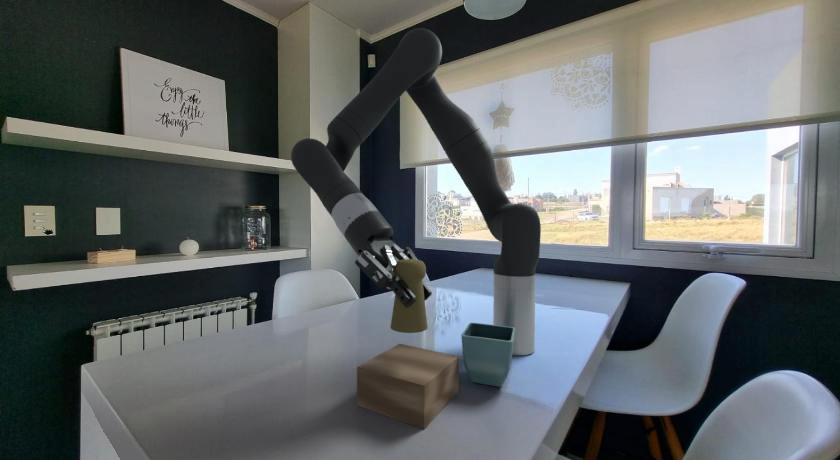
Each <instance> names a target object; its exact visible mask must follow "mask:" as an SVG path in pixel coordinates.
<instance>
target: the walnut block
mask: <svg viewBox="0 0 840 460" xmlns="http://www.w3.org/2000/svg"><path fill="white" fill-rule="evenodd" d="M459 382H460V356H459V355H454V354H449V353H445V352H440V351H436V350H432V349H431V350H430V349H427V348H422V347H416V346H413V345H407V344H403V343H398V344H397V345H394V346H393V347H390V348H389V349H387V350H385V351H383V352H382V353H379V354H378V355H376V356H374V357H373V358H370V359H369V360H368V361H365V362H363V363H362V364H360V365H358V366H357V367H356V406H357V407H361V408H362V409H366V410H369V411H371V412H375V413H376V414H380V415H383V416H386V417H389V418H392V419H394V420H397V421H400V422H402V423H405V424H408V425H411V426H414V427H416V428H420V429H423V430H426V429H427V427H428V426H429V424H431V423H432V422H433V421H434V419H435V418H436V417H437V416H438V415H439V414H440V413H441V412H442V411H443V410H444V409H445V408H446V406H448V404H449V403H450V402H451V401H452V400H453V399H454V398H455V397H456V395H457V394H458V393H459V391H460V390H459V389H460V384H459Z"/></svg>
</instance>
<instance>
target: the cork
mask: <svg viewBox="0 0 840 460" xmlns="http://www.w3.org/2000/svg"><path fill="white" fill-rule="evenodd" d="M416 259H417V258H416ZM416 259H403V260H399V261H398V262H397V264H396V271H397V273H398V275H399V276H400V277H401V280H400V281H404V282H405V283H406V285H407V286H408V287H409V289H410V290H411V291H412V293H413V294H414V295H415V296H416V301H415V302H414V303H413V304H412V305H411V306H410V307H405V306H404V305H403V304H402V303H401V301H400V300H399V299H398V297H397V296H396V295H395V294H394V300H393V308H392V314H391V320H390V330H393V332H398V333H401V334H402V333H403V334H405V333H406V334H415V333H417V334H418V333H421V332H425V331H426V330H428V318H427V309H426V300H425V299H424V290H423V282H424V278H425V277H426V274H427V267H426V264H425V262H424V261H422V260H420V259H417V260H416ZM422 280H423V281H422Z"/></svg>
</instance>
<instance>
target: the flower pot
mask: <svg viewBox="0 0 840 460" xmlns="http://www.w3.org/2000/svg"><path fill="white" fill-rule="evenodd" d="M514 336H515V328H514V327H507V326H498V325H493V324H488V323H487V324H486V323H479V322H470V323H468V325H467V326H466V328H465V329H464V330H463V332H462V333H461V347H462V349H461V350H462V357H463V363H464V364H463V365H464V367H465V370H466V373H467V375H468V377H469V378H470V380H471V381H472V382H473V383H474V384H481V385H487V386H493V387H497V388H501V387H502V386H503V385H504V383H505V381H506V379H507V378H508V374H509V372H510V369H511V368H510V367H511V363H512V357H513V355H512V352H513V345H514Z"/></svg>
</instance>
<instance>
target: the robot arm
mask: <svg viewBox="0 0 840 460" xmlns="http://www.w3.org/2000/svg"><path fill="white" fill-rule="evenodd" d="M442 56H443V48H442V44H441V41H440V39H439V37H438V36H437V35H436V33H434V32H433V31H432V30H429V29H427V28H425V27H424V28H423V27H416V28H414V29H411V30H409V31H407V32H406V33H405V34H404V36H403V37H402V38H401V40H400V41H399V44H397V47H396V48H395V49H394V51H393V53H391V56H390V57H389V58H388V59H387V61H386V62H385V63H384V65H383V66H382V67H381V68H380V70H379V71H378V72H377V73H376V74H375V75H374V77H373V78H372V79H370V81H369V82H368V83H367V84H366V85H365V86H364V87H363V89H361V91H360V92H359V93H358V94H357V95H356V96H355V97H353V98H352V99H351V100H350V101H349V103H348V104H347V105H346V106H344V108H342V110H340V112H338V114H337V115H336V116H335V117H334V118H333V119H331V121H330V122H329V123H328V125H327V127H326V133H327V138H328V139H327V143H326V145H325V144H324V143H323V142H322V141H321V140H318V139H315V138H308V137H307V138H304V139H303V138H302V139H301V140H299V141H297V142H296V143H295V144H294V145H293V146H292V150H291V152H290V154H291V155H290V158H291V159H290V160H291V163H292V166H293V168H294V170H296V171H297V173H298V174H299V175H300V176H301V177H302V179H303V180H304V181H305V182H306V184H307V185H308V186H309V187H310V188H311V190H313V192H314V193H315V194H316V196H317V197H318V199H319V200H320V203H321V204H322V206H323V207H324V208H325V209H326V211H327V213H328V214H329V215H330V216H331V218H332V220H333V222H334V223H335V225H336V227H337V228H338V230H339V232H340V233H341V234H342V235H343V237H344V238H345V240H346V241H347V243H348V244H349V246H351V248H352V250H353V251H354V252H355V253H356V255H357V256H358V257H357V259H355V261H354V263H355V265H356V266H357V268H358V269H360V270H361V271H362V272H363V273H364V274H365V275H366V276H367V277H368V278H369V279H370V280H371V281H372V282H373V283H374V284H375V286H377V287H378V288H379V289H384V287H385V288H386V289H388V290H389V291H392V292H393V293H394V296H395V295H396V296H397V297H398V299H399V300H400V301H401V303H402V304H403V305H404V306H405V307H410V306H411V305H412V304H413V303H414V302H415V301H416V296H415V295H414V294H413V293H412V291H411V290H410V289H409V287H408V286H407V285H406V283H405V282H404V281H400V280H401V277H400V276H399V275H398V273H397V271H396V264H397V262H398V261H399V260H403V259H416V260H418V259H417V256H416V255H415V253H414V252H413V250H412V248H410V247H408V246H406V247H405V248H404V249H402V248H401V247H400V245H398V244H396V242H395V241H393V236H394V229H393V227H392V226H391V225H390V223H388V221H387V220H386V218H385V217H384V216H383V215H382V213H381V212H380V211H379V210H378V208H377V207H376V206H375V205H374V204H373V202H372V201H371V200H370V199H368V197H366V196H365V195H364V193H363V192H362V190H360V189H359V187H358V186H357V185H356V183H355V182H354V181H353V180H352V179H351V178H350V177H349V176H348V175H347V174H346V173H345V170H346V169H347V166H349V163H350V161H351V160H352V158H353V156H354V154H355V151H356V150H357V149H358V148H359V147H360V146H361V144H363V143H364V141H366V140H367V138H368V137H369V136H370V135H371V134H372V133H373V132H374V130H375V129H376V128H377V127H378V126H379V124H380V123H381V122H382V121H383V119H385V117H386V115H388V112H389V111H390V110H391V109H392V108H393V106H394V105H395V104H396V103H397V101H398V100H399V99H400V98H401V96H402V95H403V94H404V93H405V92H406V93H407V94H408V96H409V97H410V99H411V100H412V101H413V102H414V104H415V105H416V106H417V108H418V109H419V111H420V112H421V114H422V115H423V117H424V119H425V120H426V123H427V124H428V126H429V127H430V129H431V131H432V132H433V135H434V136H435V137H436V139H437V140H438V142H439V144H440V145H441V148H442V149H443V151H444V154H446V156H447V158H448V159H449V161H450V163H451V165H452V166H453V167H454V169H455V170H456V172H457V174H458V175H459V177H460V178H461V180H462V181H463V183H464V185H465V186H466V188H467V190H468V191H469V192H470V194H471V196H472V197H473V199H474V200H475V203H476V205H477V207H478V210H479V212H480V214H481V215H482V217H483V219H484V222H485V224H486V226H487V228H488V230H489V233H490V234H491V235H492V237H493V238H494V239H495V240H496V241H498V242H501V249H500V254H499V257H498V258H497V259H495V261H494V262H493V307H492V308H493V316H492V317H493V318H492V319H493V321H492V323H493V324H492V325H498V326H507V327H514V328H515V336H514V345H513V352H512V356H527V355H532V354H533V353H535V345H536V344H535V343H536V341H535V340H536V339H535V338H536V335H535V334H536V267H537V265H538V263H539V261H540V251H541V250H540V248H541V233H542V230H541V219H540V216H539V214H538V211H536V209H535V208H534V207H533V206H531V204H528V203H522V202H521V203H513V202H511V200H510V199H509V197H508V196H507V194H506V192H505V191H504V190H503V188H502V186H501V184H500V181H499V179H498V176H497V168H496V164H495V158H494V154H493V151H492V147H491V146H490V143H489V141H488V140H487V138H486V135H484V133H483V131H482V129H481V128H480V126H479V124H478V122H476V121H475V119H474V118H473V117H472V116H470V115H469V114H468V113H467V112H466V111H464V110H463V109H462V108H461V107H459V106H458V105H457V104H455V103H454V102H453V101H452V100H451V99H450V98H449V97H448V96H447V94H446V93H445V91H444V89H443V87H442V86H441V84H440V82H439V81H438V78H437V77H436V71H437V69H438V67H440V66H439V65H440V63H441V61H442ZM422 281H423V290H424V299H425V301H427V300H428V299H429V298H430V297H431V296H432V294H433V292H432V290H431V289H430V288H429V287H428V286H427V284H426V283H425V281H424V279H423V280H422Z"/></svg>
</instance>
